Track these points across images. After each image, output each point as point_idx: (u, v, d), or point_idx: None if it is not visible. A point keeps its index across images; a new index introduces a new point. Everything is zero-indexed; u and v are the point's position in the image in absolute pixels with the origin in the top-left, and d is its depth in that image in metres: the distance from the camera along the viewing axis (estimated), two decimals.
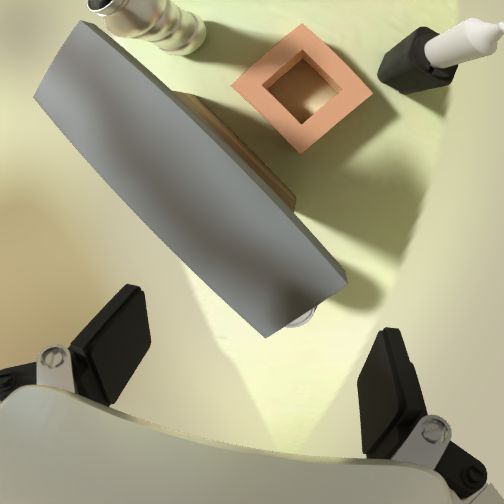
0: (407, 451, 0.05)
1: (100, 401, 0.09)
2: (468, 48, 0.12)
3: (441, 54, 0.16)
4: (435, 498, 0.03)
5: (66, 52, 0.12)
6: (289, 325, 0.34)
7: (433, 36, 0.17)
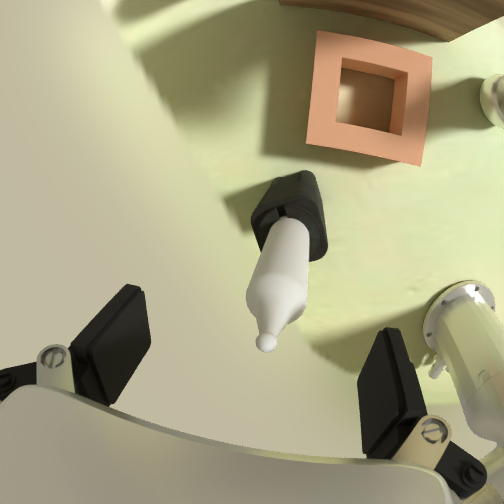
0: (407, 451, 0.05)
1: (100, 401, 0.09)
2: (276, 265, 0.14)
3: (290, 234, 0.18)
4: (435, 498, 0.03)
5: None
6: None
7: None
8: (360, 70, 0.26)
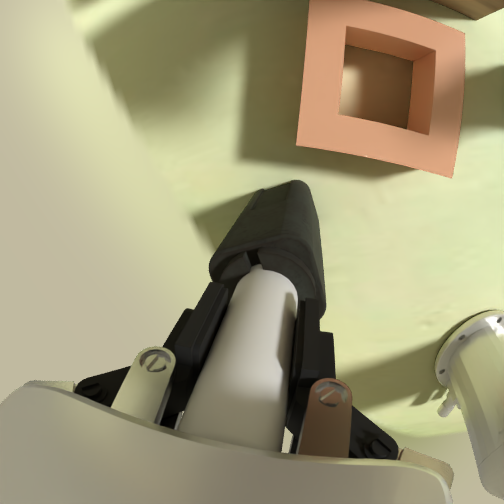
0: (313, 423, 0.06)
1: None
2: (221, 408, 0.07)
3: (261, 312, 0.10)
4: (435, 498, 0.03)
5: None
6: None
7: None
8: (369, 48, 0.18)
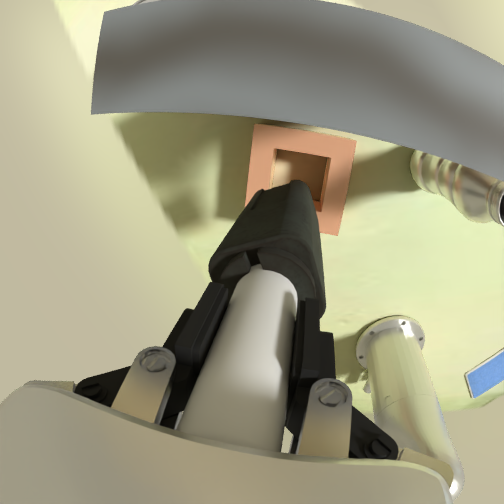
0: (313, 423, 0.06)
1: None
2: (221, 408, 0.07)
3: (261, 312, 0.10)
4: (435, 498, 0.03)
5: None
6: None
7: None
8: None
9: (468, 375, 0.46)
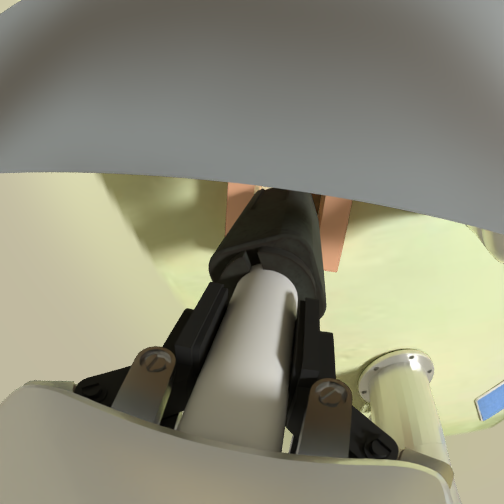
0: (313, 423, 0.06)
1: None
2: (221, 409, 0.07)
3: (261, 312, 0.10)
4: (435, 498, 0.03)
5: None
6: None
7: None
8: None
9: (478, 400, 0.40)
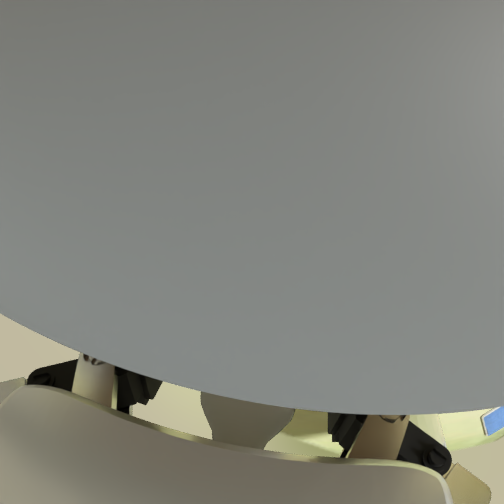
0: (368, 435, 0.06)
1: (139, 397, 0.09)
2: None
3: None
4: (435, 498, 0.03)
5: None
6: None
7: None
8: None
9: (485, 417, 0.36)
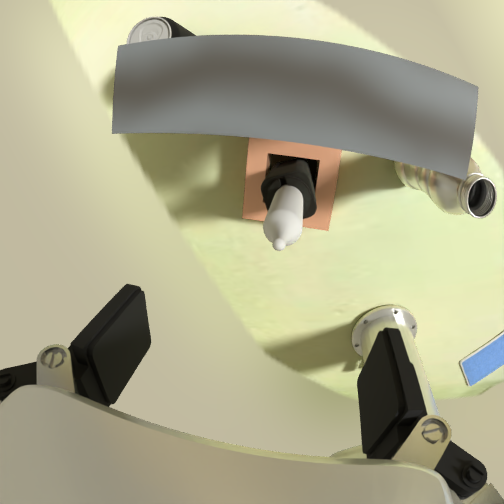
0: (407, 451, 0.05)
1: (100, 401, 0.09)
2: (282, 206, 0.22)
3: (289, 193, 0.26)
4: (435, 498, 0.03)
5: (461, 144, 0.13)
6: (135, 28, 0.25)
7: (302, 211, 0.30)
8: None
9: (463, 362, 0.49)
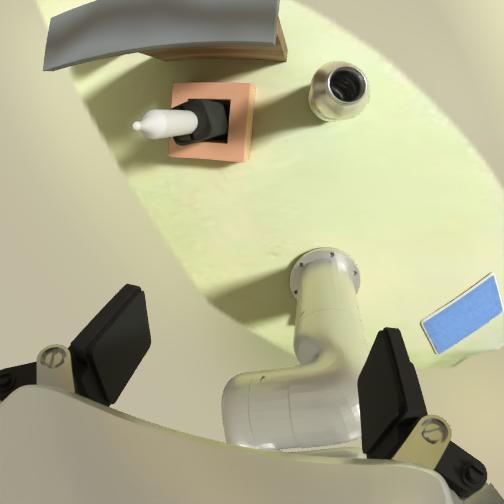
0: (407, 451, 0.05)
1: (100, 401, 0.09)
2: None
3: (177, 109, 0.29)
4: (435, 498, 0.03)
5: (264, 17, 0.16)
6: None
7: (197, 130, 0.32)
8: (212, 100, 0.42)
9: (424, 323, 0.52)
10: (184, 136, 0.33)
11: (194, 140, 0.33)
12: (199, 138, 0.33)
